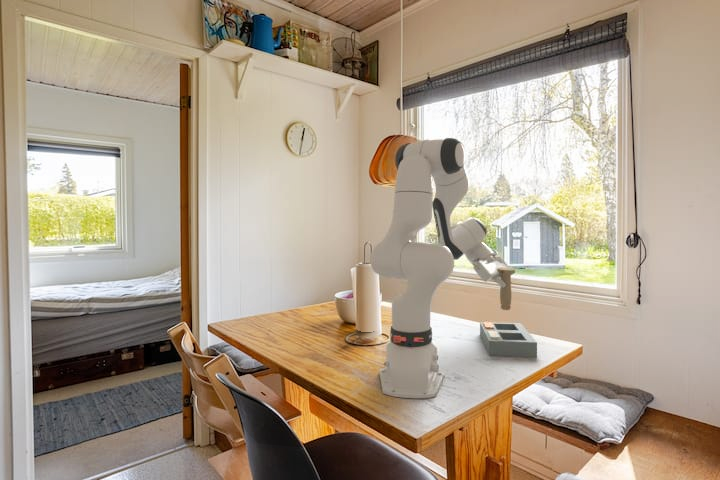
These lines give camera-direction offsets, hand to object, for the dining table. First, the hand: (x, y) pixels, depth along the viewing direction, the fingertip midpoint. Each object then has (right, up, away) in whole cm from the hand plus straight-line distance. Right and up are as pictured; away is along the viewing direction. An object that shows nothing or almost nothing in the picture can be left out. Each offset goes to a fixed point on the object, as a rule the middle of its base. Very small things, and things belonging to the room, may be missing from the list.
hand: (507, 285), depth 147 cm
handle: (0, -9, +1) cm, 9 cm away
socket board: (-1, -21, -4) cm, 21 cm away
